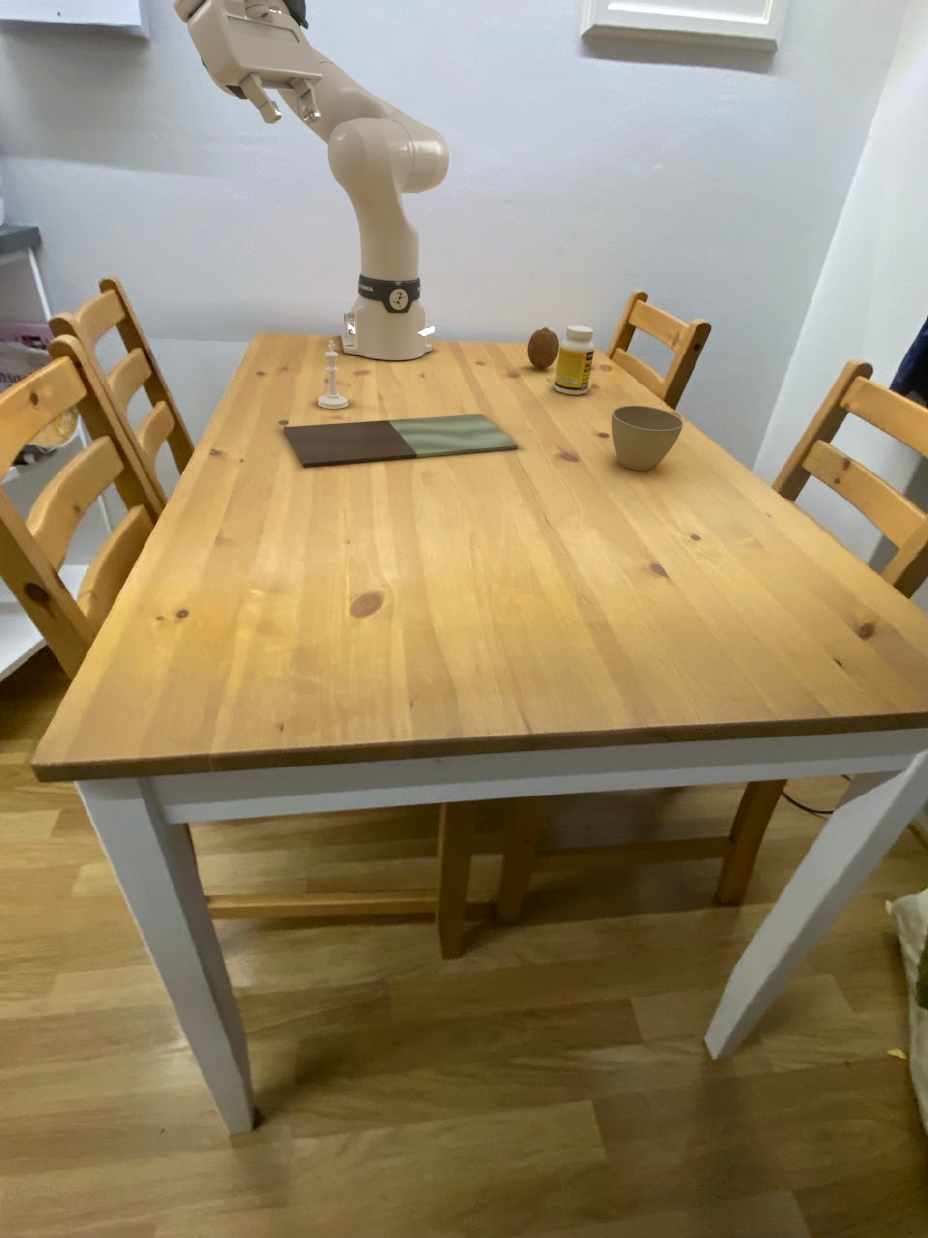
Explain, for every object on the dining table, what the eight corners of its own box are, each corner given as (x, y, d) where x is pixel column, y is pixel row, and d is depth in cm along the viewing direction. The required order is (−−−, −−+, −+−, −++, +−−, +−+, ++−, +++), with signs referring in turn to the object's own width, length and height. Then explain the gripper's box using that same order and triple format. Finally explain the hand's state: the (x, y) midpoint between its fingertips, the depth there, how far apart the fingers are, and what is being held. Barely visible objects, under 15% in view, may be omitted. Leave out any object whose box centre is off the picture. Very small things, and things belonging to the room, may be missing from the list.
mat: (283, 430, 103) (283, 426, 103) (480, 417, 115) (480, 413, 114) (303, 467, 93) (303, 463, 93) (517, 448, 104) (518, 444, 104)
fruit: (560, 372, 140) (567, 330, 135) (532, 373, 138) (538, 331, 133) (547, 364, 145) (553, 323, 140) (520, 364, 143) (525, 323, 138)
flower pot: (596, 469, 100) (605, 420, 96) (610, 446, 108) (619, 400, 104) (666, 484, 97) (679, 434, 93) (675, 460, 105) (687, 413, 101)
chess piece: (353, 402, 116) (352, 339, 110) (339, 410, 112) (337, 346, 106) (327, 397, 117) (324, 335, 111) (312, 405, 113) (309, 341, 108)
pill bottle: (585, 397, 128) (596, 334, 121) (552, 392, 128) (561, 329, 122) (587, 387, 133) (598, 326, 126) (555, 383, 133) (564, 322, 127)
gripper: (267, 25, 94) (320, 135, 99) (162, 3, 78) (231, 135, 83) (300, -7, 90) (353, 109, 95) (196, -37, 75) (266, 104, 80)
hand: (295, 121), depth 89 cm, fingers open, 8 cm apart
